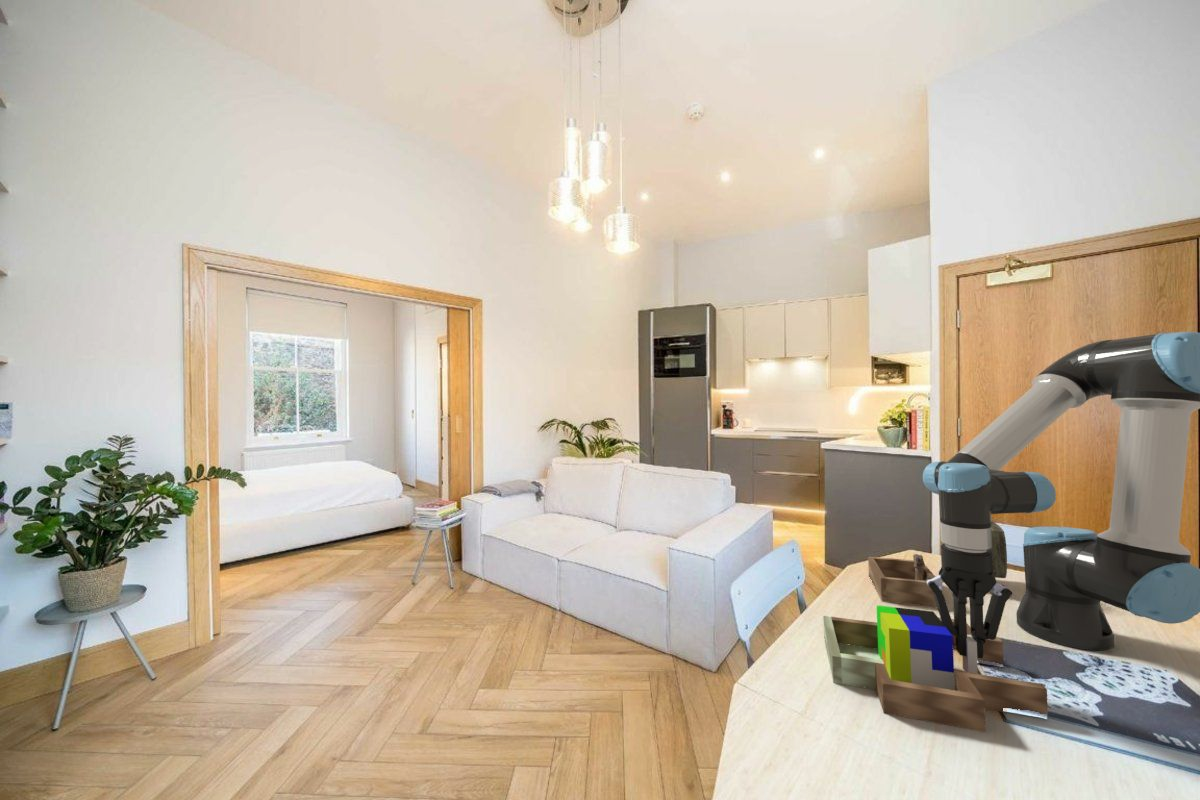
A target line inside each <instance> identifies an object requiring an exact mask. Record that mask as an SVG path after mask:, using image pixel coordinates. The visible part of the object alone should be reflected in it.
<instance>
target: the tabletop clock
mask: <svg viewBox="0 0 1200 800" xmlns="http://www.w3.org/2000/svg"><path fill="white" fill-rule="evenodd" d="M991 536H992V548H991V549H989V550H990V551H991V552H992V562H993V575H994V577H995V578H997V579H1006V577H1007V572H1008V553H1007V552H1008V550H1007V541H1006V540H1007V539H1006V535H1005V531H1004V529H1003V528H1002V527H1001V526H1000V525H999V524H997V523H996V522H994V521H992V520H991Z"/></svg>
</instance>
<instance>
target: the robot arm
mask: <svg viewBox="0 0 1200 800" xmlns="http://www.w3.org/2000/svg"><path fill="white" fill-rule="evenodd" d="M1108 395H1110V402H1111V403H1112V404H1114V405H1115V406H1116V407H1117V408H1119V410H1120V417H1119V429H1118V437H1117V439H1118V440H1117V449H1116V458H1115V460H1116V461H1115V469H1114V481H1113V489H1112V500H1111V508H1110V517H1109V527H1108V529H1107V530H1104V531H1102V532H1100V533H1097V532H1096V531H1094V530H1091V529H1085V528H1079V527H1068V526H1066V527H1065V526H1035V527H1034V526H1033V527H1030V528H1028V529H1026V530H1025V531H1024V533H1023V544H1022V548H1023V566H1024V579H1025V591H1024V594H1023V596H1022V599H1021V601H1020V603H1019V606H1018V608H1017V610H1016V615H1015V616H1016V624H1017V626H1019V627H1020V628H1021V629H1022V630H1024V632H1027V633H1029V634H1031V635H1033V636H1036V637H1037V638H1039V639H1042V640H1046V641H1049V642H1052V643H1055V644H1057V645H1058V644H1059V645H1062V646H1065V647H1071V648H1076V649H1081V650H1091V651H1092V650H1093V651H1104V650H1111V649H1113V647H1115V635H1114V631H1113V629H1112V627H1111V625H1110V622H1109V621H1108V619H1107V617H1106V615H1105V613H1104V610H1103V607H1102V606H1101V602H1102V603H1104V604H1108V605H1110V606H1113V607H1116V608H1118V609H1121V610H1123V611H1127V612H1129V613H1131V614H1133V615H1135V616H1137V617H1140V618H1141V617H1142V618H1146V619H1149V620H1151V621H1156V622H1158V623H1161V624H1168V625H1169V624H1170V625H1171V624H1173V625H1175V624H1180V623H1181V624H1182V623H1185V622H1187V621H1190V620H1192V618H1193V617H1195V616H1197V615H1199V613H1200V568H1199V567H1197V566H1196V565H1193V564H1192V563H1191V560H1192V559H1191V556H1192V553H1191V551H1190V550H1189V549H1187V548H1186V547H1185V546H1184V545H1183V544H1182V543H1180V541H1179V539H1180V530H1181V521H1182V520H1181V519H1182V510H1183V499H1184V487H1185V478H1186V468H1187V458H1188V446H1189V437H1190V436H1189V435H1190V428H1191V427H1190V425H1191V416H1192V414H1193V413H1194V412H1195V411H1197V410H1200V332H1199V331H1198V332H1196V331H1180V332H1179V331H1177V332H1161V333H1160V332H1159V333H1156V334H1155V333H1154V334H1148V335H1141V336H1133V337H1126V338H1119V339H1106V340H1099V341H1095V342H1092V343H1088V344H1085V345H1083V346H1080V347H1078V348H1076V349H1075V350H1072V351H1070V352H1068V353H1067V354H1065V355H1062V357H1060V358H1059V359H1057V360H1055V361H1054V362H1052V363H1051V364H1050V365H1048V366H1047V367H1046V368H1045V369H1043V370H1042V371H1041V372H1039V374H1037V375H1036V376H1035V377H1034V379H1032V381H1031V388H1030V389H1028V390H1027V391H1026V392H1025V393H1024V394H1022V396H1021V397H1019V398H1018V399H1017V400H1016V401H1015V402H1013V403H1012V404H1011V405H1009V407H1008V408H1006V410H1004V411H1003V412H1002V413H1001V414H1000V415H999V416H998V417H996V418H995V419H994V420H993V421H992V422H990V423H989V425H987V426H986V427H985V428H984V429H983V430H982V431H980V432H979V433H978V434H977V435H976V436H975V437H974V438H972V439H971V441H969V442H967V444H965V446H964V447H963V448H962V449H961V448H960V450H959V451H958V452H957V453H956V454H955V455H954V456H952V457H951V458H950V459H949V460H948V461H943V460H941V461H934V462H931V463H929V464H927V465H926V467H925V468H924V470H923V473H922V481H923V482H922V483H923V484H924V486H925V487H926V489H927V490H928V491H930V492H931V493H933V494H936V495H938V503H939V508H938V509H939V520H940V521H939V525H940V527H939V528H940V533H939V534H940V542H941V543H942V544H941V545H940V558H941V559H940V561H941V562H940V563H941V567H940V569H939V571H938V575H937V576H935V578H932V579H930V578H926V580H925V582H926V583H927V585H928V586H929V587H930V588H931V590H932V592H933V595H934V599H935V602H936V605H937V607H936V608H937V610H938V615H939V618H941V621H942V623H943V624H944V626H945V627H946V628H947V629H948V631H949V632H950V633H951V634H952V635H955V636H956V646H955V649H956V651H957V653H958V655H959V656H962V670H964V671H963V672H968V673H974V674H979V667H978V663H977V658H983V644H984V643H985V642H986V641H985V640H986V639H991V640H994V639H996V638H997V635H998V633H999V632H998V631H999V628H1000V624H1001V621H1002V617H1003V614H1004V611H1005V610H1004V609H1005V606H1006V604H1007V602H1008V601H1009V599H1010V598H1011V597H1012V596H1013V591H1012V590H1011V589H1009V588H1008V587H1007V586H1006V585H1004V584H1001V583H999V582H997V579H996V578H995V577H994V575H993V562H992V552H991V551H990V550H989V549H991V548H992V536H991V521H992V515H998V514H1033V513H1036V512H1039V513H1040V512H1044V511H1047V510H1050V509H1051V508H1052V507H1053V505H1054V504H1055V502H1056V498H1057V497H1056V496H1057V494H1056V488H1055V486H1054V484H1053V483H1052V481H1051V480H1050V479H1049V478H1048V477H1047V476H1045V475H1043V474H1041V473H1038V472H1034V471H1021V470H1019V471H1017V472H1015V471H1005V470H1001V469H1002V468H1004V467H1005V466H1006V465H1007V464H1008V463H1010V462H1011V461H1012V460H1013V459H1014V458H1015V457H1016V456H1018V454H1019V453H1021V452H1022V451H1023V450H1024V449H1026V448H1027V446H1029V445H1030V444H1031V443H1033V441H1034V440H1036V438H1038V437H1039V436H1040V435H1041V434H1042V433H1043V432H1045V431H1046V429H1048V428H1049V427H1050V426H1051V425H1052V424H1054V423H1055V422H1056V421H1058V419H1059V418H1061V417H1062V416H1063V414H1065V413H1066V412H1067V411H1068V410H1069V409H1076V408H1079V407H1081V406H1083V405H1084V404H1085V403H1086V402H1087V401H1089V400H1090V399H1094V398H1097V397H1101V396H1108ZM943 583H944V584H945V586H947V588H948V589H949V590H950V591H951V595H952V599H953V600H952V602H953V606H952V607H953V619H954V626H953V623H952V620H951V619H952V618H951V617H952V616H951V614H950V612H949V608H948V605H947V602H946V598H945V595H944V593H942V592H941V590H942V591H943V589H944V586H943ZM990 591H991V592H992V594H991V596H990V600H989V604H988V606H987V611H986V614H985V618H984V604H985V601H984V600H985V599H984V597H985V596H986V595H988V593H989V592H990ZM968 599H969V620H970V621H969V624H970V625H969V626H970V628H971V634H972V636H971V635H967V624H968V621H967V603H968V602H967V601H968Z"/></svg>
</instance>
